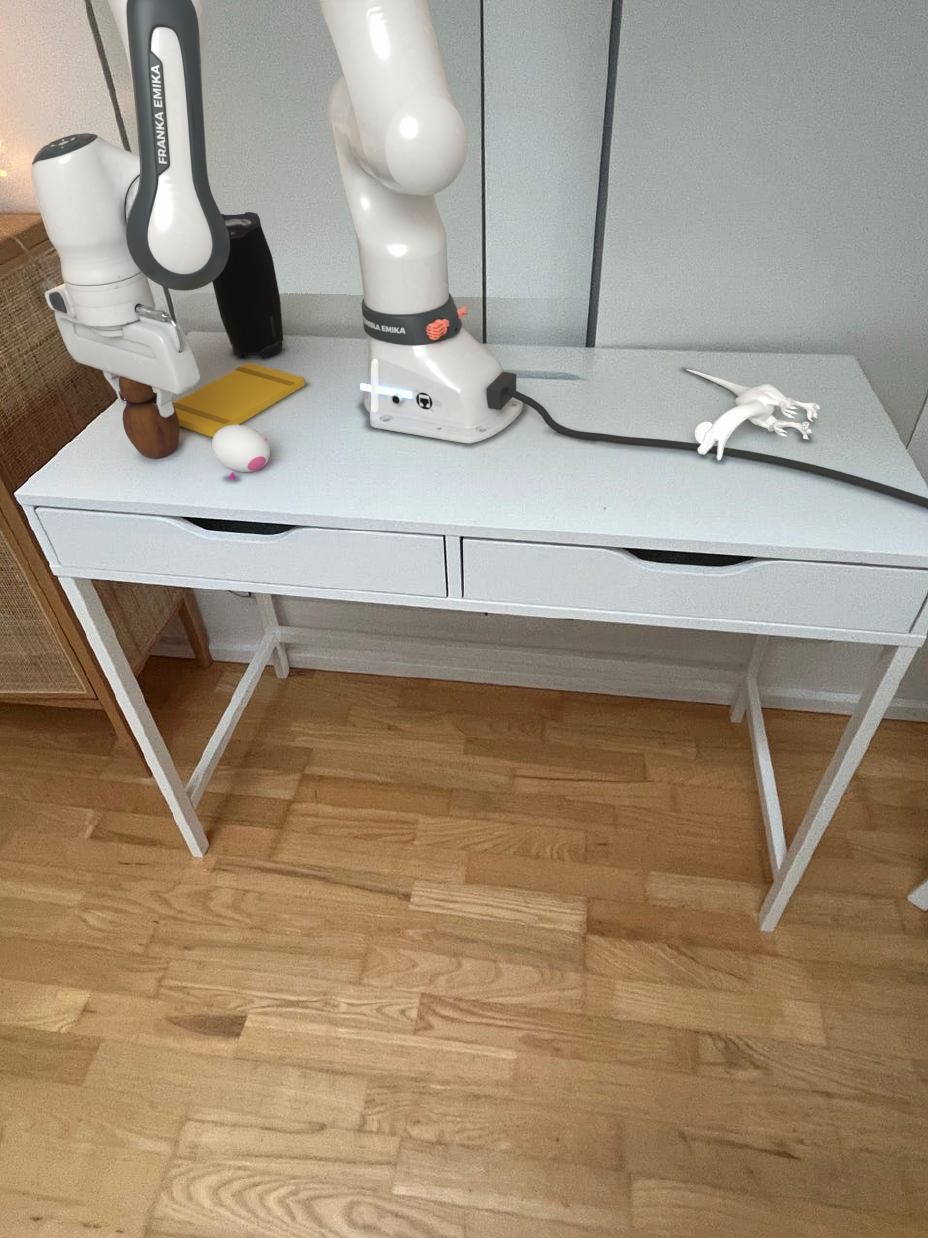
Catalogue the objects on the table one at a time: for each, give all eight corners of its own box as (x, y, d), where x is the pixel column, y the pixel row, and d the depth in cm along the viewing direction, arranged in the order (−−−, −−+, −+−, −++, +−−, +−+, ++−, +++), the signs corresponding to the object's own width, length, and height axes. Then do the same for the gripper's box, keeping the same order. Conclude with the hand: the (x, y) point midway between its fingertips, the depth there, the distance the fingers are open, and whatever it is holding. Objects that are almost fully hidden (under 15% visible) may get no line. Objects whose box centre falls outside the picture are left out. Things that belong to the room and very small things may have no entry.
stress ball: (282, 489, 107) (293, 438, 105) (243, 484, 99) (255, 429, 98) (235, 474, 109) (246, 424, 108) (194, 469, 102) (205, 415, 101)
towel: (305, 385, 122) (303, 376, 121) (215, 438, 111) (213, 429, 110) (250, 369, 126) (248, 361, 126) (159, 419, 115) (157, 410, 114)
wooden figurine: (169, 466, 106) (133, 352, 96) (127, 462, 107) (88, 350, 97) (192, 439, 111) (161, 329, 101) (152, 436, 112) (117, 327, 102)
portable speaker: (221, 348, 133) (190, 217, 120) (275, 333, 136) (250, 205, 123) (241, 366, 127) (211, 231, 114) (297, 351, 131) (274, 218, 118)
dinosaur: (781, 435, 122) (673, 411, 123) (802, 376, 118) (691, 352, 119) (815, 484, 100) (683, 454, 101) (843, 413, 96) (705, 383, 97)
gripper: (195, 304, 93) (223, 416, 102) (79, 275, 102) (114, 381, 111) (152, 324, 89) (185, 439, 98) (34, 291, 98) (75, 400, 107)
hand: (146, 408), depth 105 cm, fingers closed on wooden figurine, 5 cm apart
